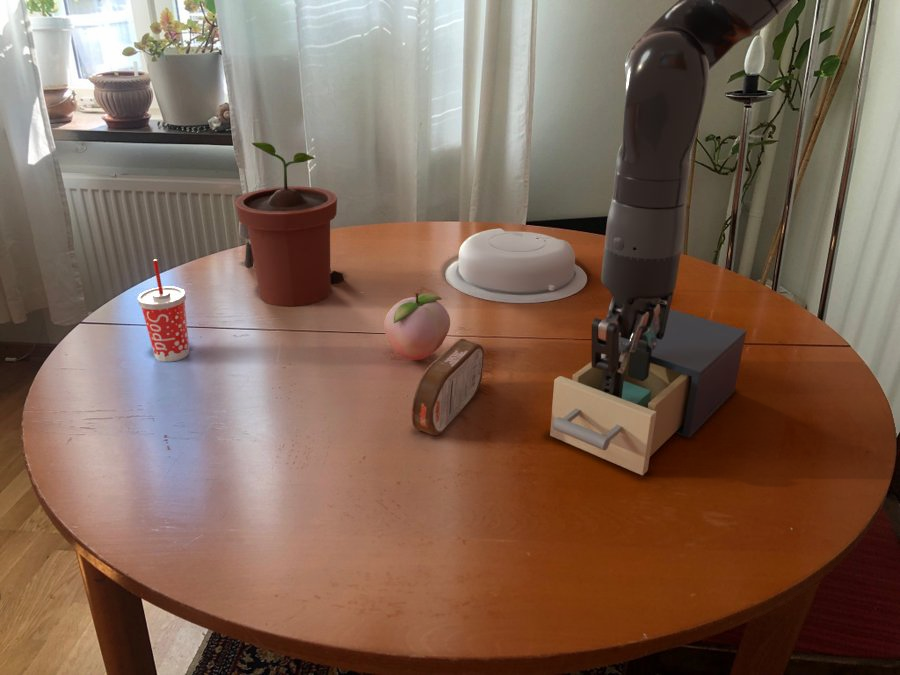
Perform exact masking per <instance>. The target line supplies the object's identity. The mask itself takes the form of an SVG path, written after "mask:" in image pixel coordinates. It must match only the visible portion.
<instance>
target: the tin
mask: <svg viewBox="0 0 900 675" xmlns="http://www.w3.org/2000/svg"><path fill="white" fill-rule="evenodd" d="M484 356H485V348H484V347H483V346H482V345H481V344H479V343H477V342H473V341H470V340H467V339H466V338H459V339H458V340H457V341H455V342H454V343H453V344H452V345H451V346H450V347H449V348H448V349H446V350H445V351H444V352H443V353H442V354H441V355H440V356H438V358H436V359H435V360H434V361H433V362H432V363H430V365H429V366H428V367H427V368H426V369H425V371H424V373H423V374H422V376H421V378H420V380H419V382H418V384H417V387H416V389H415V392H414V396H413V400H412V406H411V423H412V427H413V429H415V430H416V431H417V432H418V431H419V432H424V433H426V434H430V435H432V436H433V435H434V436H439V435H440V434H442V432H443V431H444V429H445V428H447V426H448V425H449V424H450V423H451V422H452V421H453V420H454V419H455V417H456V416H457V415H458V414H459V413H460V412H461V411H462V410H463V409H464V407H465V406H466V405H467V404H468V402H469V401H470V400H471V399H472V398H473V397H474V396H475V395H476V394H477V393H478V391H479V388H480V385H481V382H482V380H483V368H484V360H485V358H484Z"/></svg>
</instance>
